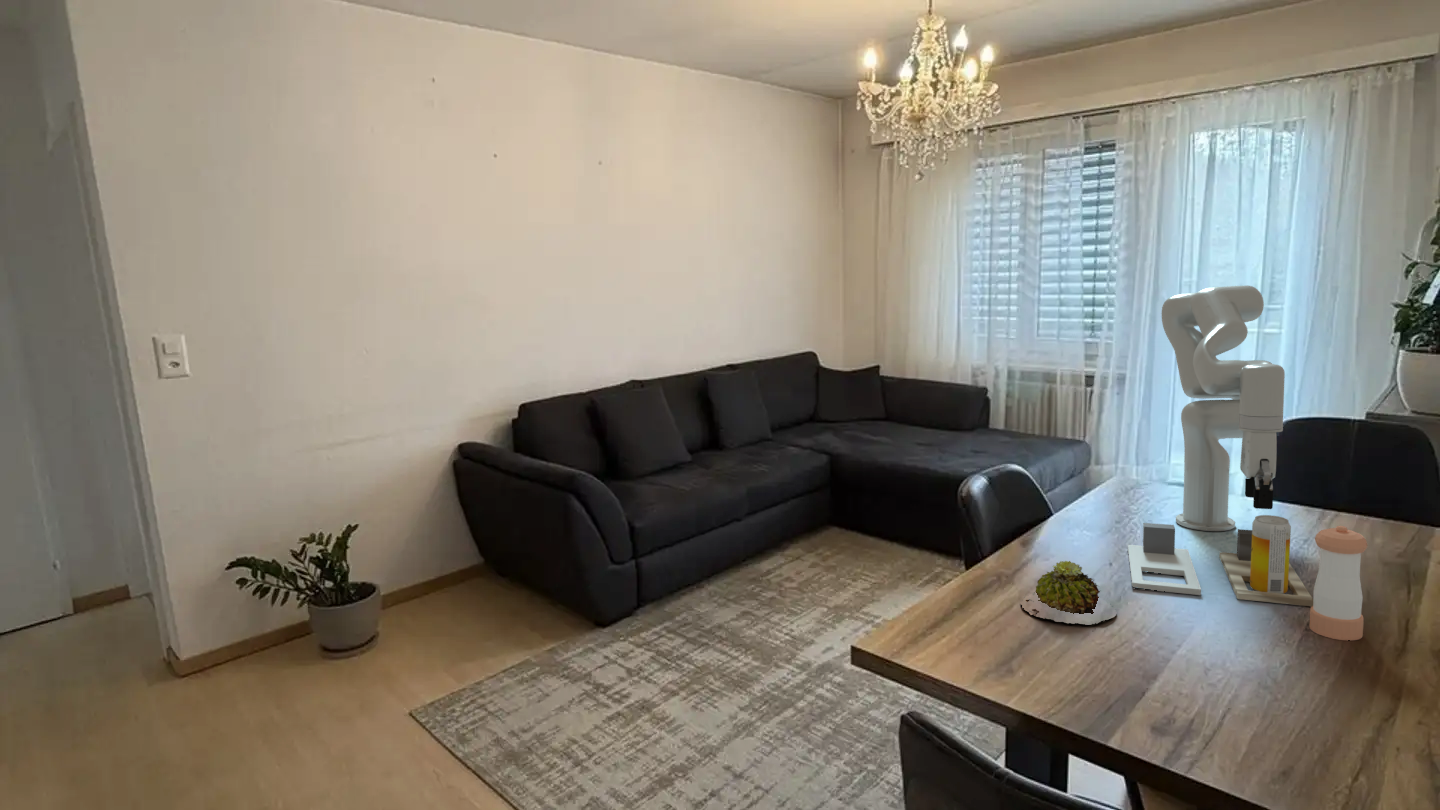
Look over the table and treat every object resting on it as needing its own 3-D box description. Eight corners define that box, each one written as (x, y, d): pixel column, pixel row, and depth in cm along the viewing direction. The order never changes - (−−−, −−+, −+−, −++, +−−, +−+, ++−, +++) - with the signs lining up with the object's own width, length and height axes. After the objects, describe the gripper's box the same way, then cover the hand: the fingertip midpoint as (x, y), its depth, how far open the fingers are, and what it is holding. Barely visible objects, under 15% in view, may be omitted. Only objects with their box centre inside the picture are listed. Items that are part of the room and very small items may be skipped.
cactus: (1020, 623, 144) (1020, 575, 142) (1020, 591, 158) (1019, 546, 157) (1122, 633, 137) (1122, 582, 136) (1112, 598, 152) (1112, 552, 151)
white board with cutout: (1127, 549, 176) (1128, 519, 175) (1187, 554, 171) (1188, 523, 170) (1132, 588, 155) (1132, 554, 154) (1201, 595, 150) (1202, 560, 149)
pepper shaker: (1349, 644, 128) (1356, 536, 125) (1300, 629, 134) (1306, 525, 131) (1371, 633, 131) (1378, 527, 128) (1322, 618, 137) (1327, 517, 135)
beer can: (1275, 585, 152) (1278, 513, 150) (1294, 597, 146) (1298, 523, 144) (1243, 586, 153) (1246, 515, 151) (1261, 598, 147) (1264, 524, 145)
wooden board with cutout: (1219, 557, 168) (1220, 526, 167) (1285, 562, 163) (1286, 530, 162) (1237, 598, 147) (1238, 563, 146) (1313, 606, 142) (1315, 570, 141)
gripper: (1232, 416, 168) (1230, 491, 170) (1246, 429, 152) (1244, 512, 154) (1273, 417, 164) (1271, 493, 166) (1292, 430, 149) (1289, 514, 151)
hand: (1258, 502), depth 160 cm, fingers open, 9 cm apart
